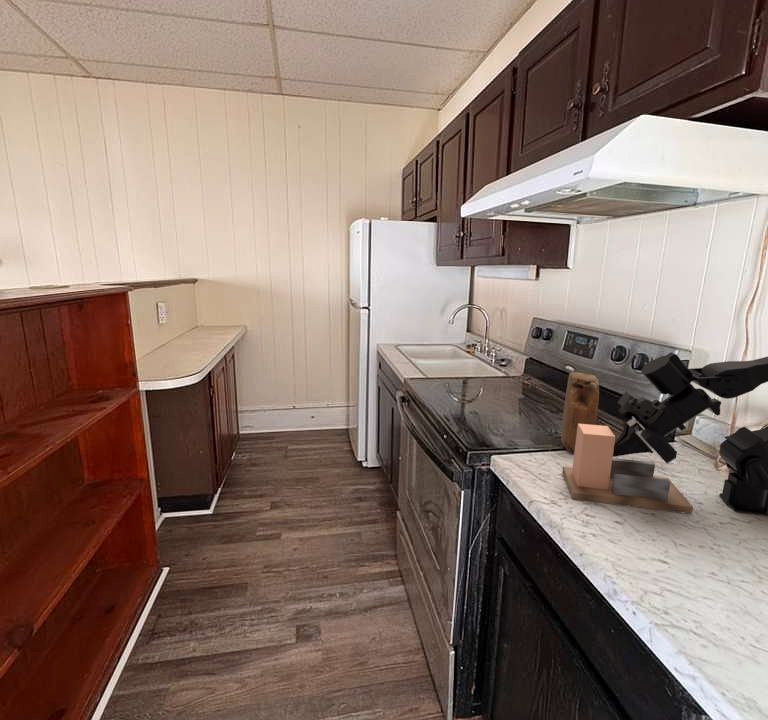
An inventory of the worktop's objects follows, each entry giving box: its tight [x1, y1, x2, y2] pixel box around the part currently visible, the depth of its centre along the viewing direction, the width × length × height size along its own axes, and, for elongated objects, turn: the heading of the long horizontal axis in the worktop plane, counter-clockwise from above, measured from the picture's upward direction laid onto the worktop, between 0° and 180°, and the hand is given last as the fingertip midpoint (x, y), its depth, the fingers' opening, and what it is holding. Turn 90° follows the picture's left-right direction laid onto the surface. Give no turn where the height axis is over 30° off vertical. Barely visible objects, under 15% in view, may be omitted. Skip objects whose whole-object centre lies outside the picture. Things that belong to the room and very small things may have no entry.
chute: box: [562, 457, 694, 514], centre depth 90 cm, size 22×12×6 cm, turn 77°
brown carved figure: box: [560, 371, 600, 453], centre depth 111 cm, size 11×8×20 cm
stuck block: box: [572, 424, 616, 490], centre depth 91 cm, size 6×6×12 cm
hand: (609, 454), depth 90 cm, fingers closed, pressing on stuck block
